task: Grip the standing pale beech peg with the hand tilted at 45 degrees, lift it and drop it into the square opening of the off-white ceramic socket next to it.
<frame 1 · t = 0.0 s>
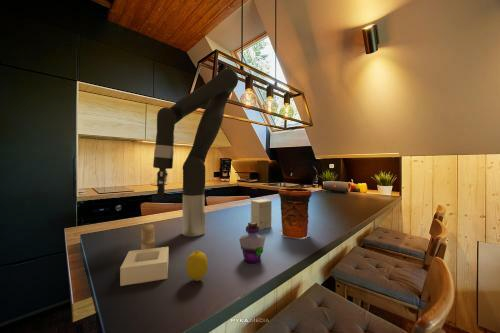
hand: (160, 195, 89), 17 cm above the countertop, tool pointing down, fingers open, 8 cm apart
socket: (147, 271, 61), on the countertop
peg: (148, 256, 71), on the countertop
small box: (261, 227, 104), on the countertop
vessel: (294, 234, 95), on the countertop
lemon: (197, 281, 57), on the countertop
potion bottle: (252, 260, 69), on the countertop
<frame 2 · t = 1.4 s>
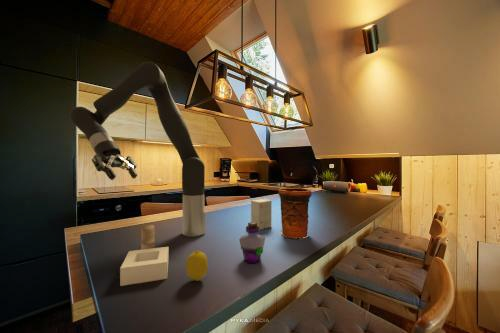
hand: (125, 177, 78), 25 cm above the countertop, tool tilted 45°, fingers open, 8 cm apart
nothing on the countertop moved.
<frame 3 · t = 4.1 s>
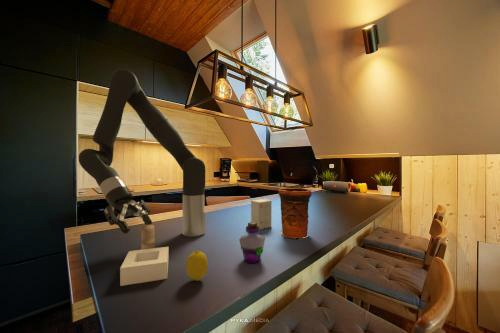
hand: (139, 228, 72), 9 cm above the countertop, tool tilted 45°, fingers open, 8 cm apart
nothing on the countertop moved.
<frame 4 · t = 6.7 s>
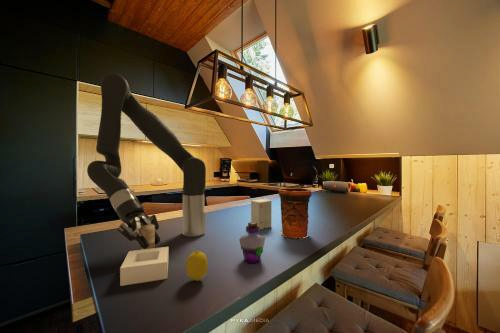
hand: (152, 244, 70), 4 cm above the countertop, tool tilted 45°, fingers closed on peg, 4 cm apart
peg: (148, 256, 71), on the countertop, touching gripper
everything else where it was.
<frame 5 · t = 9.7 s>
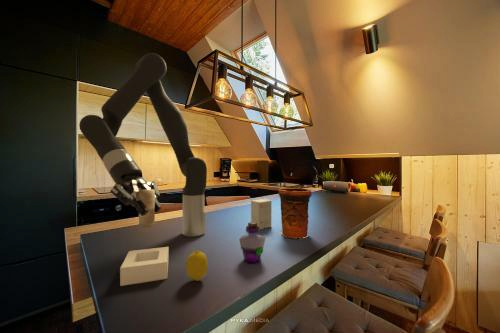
hand: (152, 211, 60), 17 cm above the countertop, tool tilted 45°, fingers closed on peg, 4 cm apart
peg: (146, 225, 61), point 13 cm above the countertop, touching gripper
everything else where it was.
when the fingers open (5 cm above the countertop, at t = 13.0 s): peg drops 1 cm, resting in socket.
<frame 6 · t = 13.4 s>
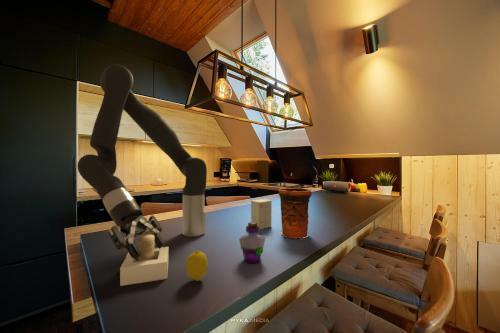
hand: (150, 251, 60), 6 cm above the countertop, tool tilted 45°, fingers open, 7 cm apart
peg: (146, 272, 61), resting in socket
everything else where it was.
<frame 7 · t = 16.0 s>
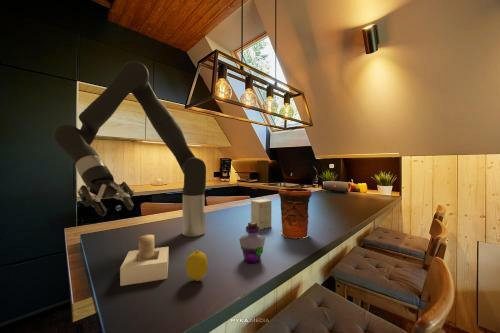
hand: (119, 211, 65), 16 cm above the countertop, tool tilted 45°, fingers open, 8 cm apart
nothing on the countertop moved.
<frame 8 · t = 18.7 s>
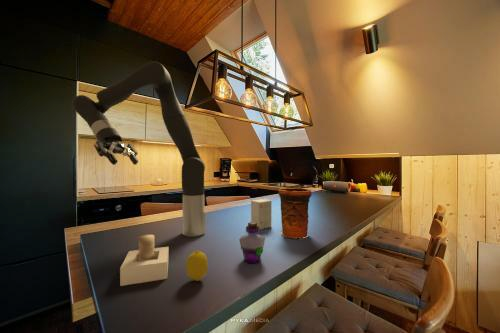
hand: (126, 163, 81), 31 cm above the countertop, tool tilted 45°, fingers open, 8 cm apart
nothing on the countertop moved.
at the end: peg 0.1 cm off-centre on the socket, point 0.0 cm above the socket's base; peg tilted 0°; the gripper is holding nothing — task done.
